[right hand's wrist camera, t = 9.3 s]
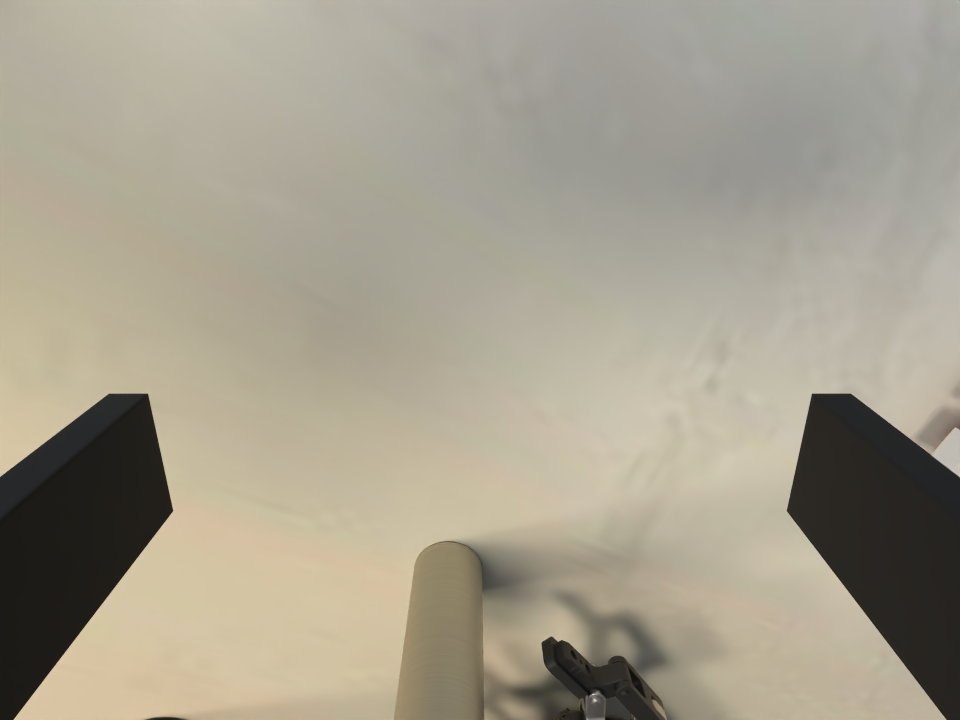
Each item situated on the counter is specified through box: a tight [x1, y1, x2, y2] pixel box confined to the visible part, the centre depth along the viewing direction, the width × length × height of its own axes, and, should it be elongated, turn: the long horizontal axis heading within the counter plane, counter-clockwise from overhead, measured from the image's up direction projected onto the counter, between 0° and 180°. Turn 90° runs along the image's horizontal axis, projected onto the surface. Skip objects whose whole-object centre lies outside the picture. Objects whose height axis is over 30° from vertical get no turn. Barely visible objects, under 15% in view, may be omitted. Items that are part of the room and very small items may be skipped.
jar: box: [394, 542, 484, 720], centre depth 37 cm, size 5×5×17 cm
